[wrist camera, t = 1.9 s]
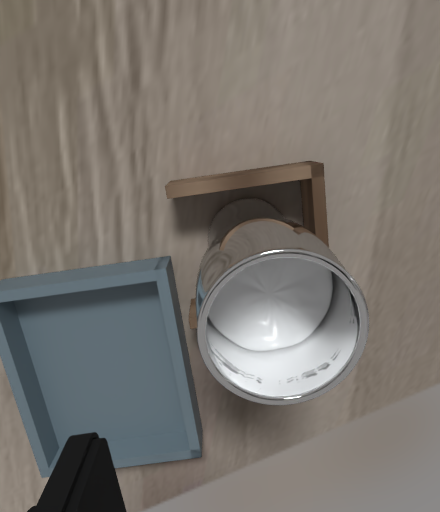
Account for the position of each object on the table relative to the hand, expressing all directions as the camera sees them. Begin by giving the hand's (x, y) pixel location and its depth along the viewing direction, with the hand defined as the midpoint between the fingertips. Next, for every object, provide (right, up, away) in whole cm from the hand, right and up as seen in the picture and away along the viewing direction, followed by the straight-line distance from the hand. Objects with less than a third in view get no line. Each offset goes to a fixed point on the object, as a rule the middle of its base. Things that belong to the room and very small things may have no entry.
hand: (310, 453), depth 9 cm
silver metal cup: (0, +6, +20) cm, 21 cm away
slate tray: (-11, -4, +23) cm, 26 cm away
